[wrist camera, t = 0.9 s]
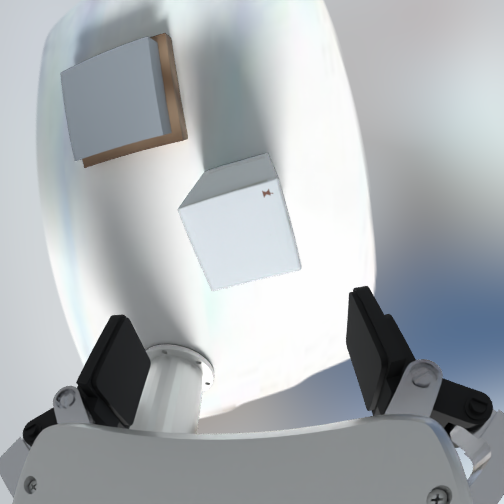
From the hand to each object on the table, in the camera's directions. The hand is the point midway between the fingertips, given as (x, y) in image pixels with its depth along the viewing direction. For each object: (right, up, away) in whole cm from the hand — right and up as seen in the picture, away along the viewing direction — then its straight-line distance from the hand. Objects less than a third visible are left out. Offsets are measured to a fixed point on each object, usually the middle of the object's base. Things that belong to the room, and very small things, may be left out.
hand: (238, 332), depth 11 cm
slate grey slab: (-13, +19, +13) cm, 26 cm away
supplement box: (0, +10, +20) cm, 22 cm away
